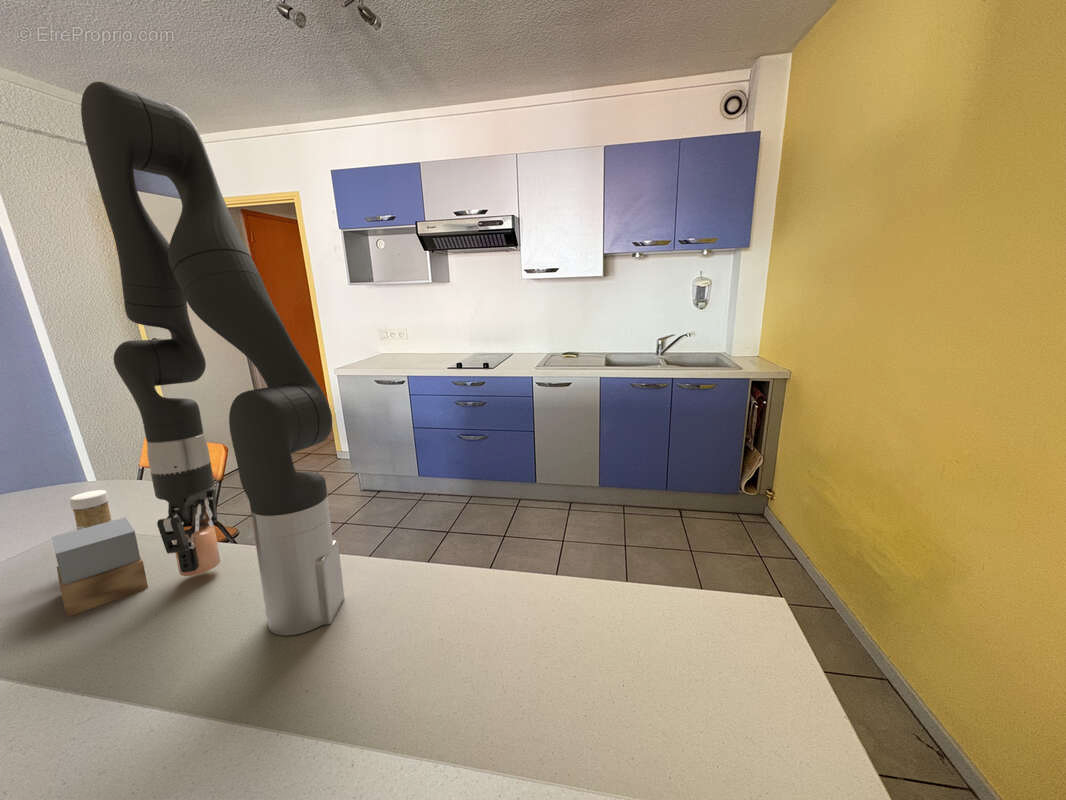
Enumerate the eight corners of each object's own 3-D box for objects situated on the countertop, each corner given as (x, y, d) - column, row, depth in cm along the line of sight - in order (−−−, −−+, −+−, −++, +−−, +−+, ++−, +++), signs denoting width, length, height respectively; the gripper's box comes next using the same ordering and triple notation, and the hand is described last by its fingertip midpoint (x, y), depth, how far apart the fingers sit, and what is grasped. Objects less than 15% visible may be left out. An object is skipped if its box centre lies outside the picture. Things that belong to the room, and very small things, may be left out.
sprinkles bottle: (117, 566, 76) (102, 495, 74) (81, 575, 73) (64, 501, 71) (123, 555, 80) (109, 487, 77) (89, 563, 77) (74, 493, 75)
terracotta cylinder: (227, 556, 75) (221, 524, 74) (207, 574, 69) (201, 539, 68) (193, 559, 74) (187, 527, 73) (170, 577, 69) (163, 543, 68)
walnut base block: (138, 569, 75) (133, 543, 74) (148, 589, 69) (142, 560, 68) (63, 595, 68) (56, 566, 67) (67, 618, 63) (60, 587, 62)
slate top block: (131, 544, 74) (125, 517, 73) (140, 560, 69) (134, 531, 68) (58, 566, 68) (51, 536, 67) (63, 585, 62) (55, 553, 61)
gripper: (186, 475, 63) (206, 580, 66) (225, 449, 76) (240, 537, 79) (124, 482, 61) (147, 590, 64) (176, 455, 74) (193, 544, 77)
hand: (199, 560), depth 71 cm, fingers closed on terracotta cylinder, 5 cm apart
